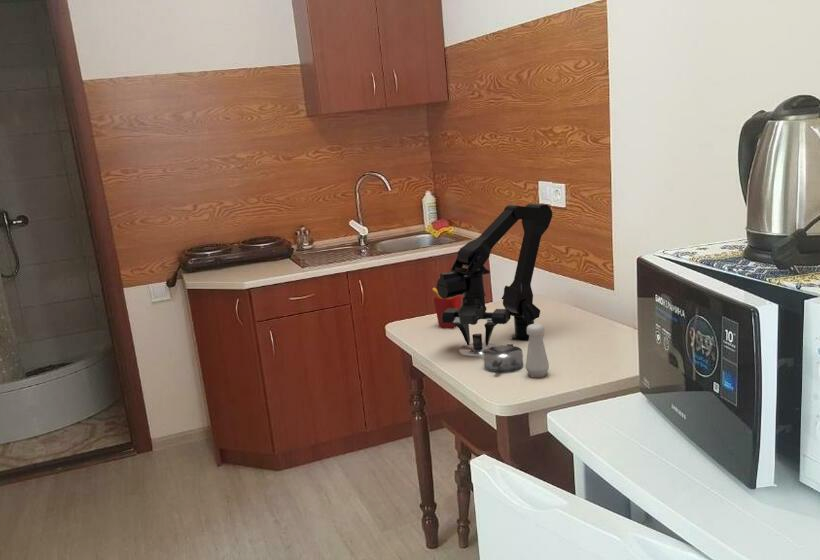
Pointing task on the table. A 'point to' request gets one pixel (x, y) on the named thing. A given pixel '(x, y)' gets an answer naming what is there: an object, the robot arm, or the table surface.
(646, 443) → the table surface
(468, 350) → the lid
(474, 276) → the robot arm
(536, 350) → the salt shaker
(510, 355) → the pot
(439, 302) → the french fries
